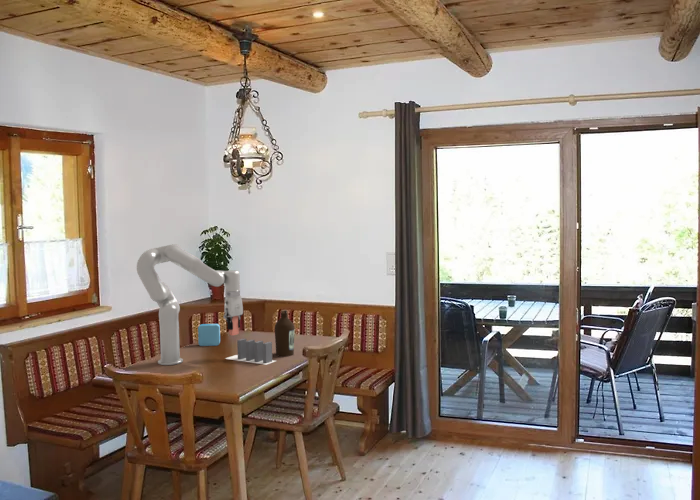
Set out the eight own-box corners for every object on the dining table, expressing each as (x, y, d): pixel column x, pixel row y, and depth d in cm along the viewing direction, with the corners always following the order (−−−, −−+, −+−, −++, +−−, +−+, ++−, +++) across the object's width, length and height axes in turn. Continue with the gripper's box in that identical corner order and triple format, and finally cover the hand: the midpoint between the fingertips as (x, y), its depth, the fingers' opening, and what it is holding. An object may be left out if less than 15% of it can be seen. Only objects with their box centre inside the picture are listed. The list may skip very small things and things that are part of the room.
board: (224, 360, 340) (224, 358, 340) (235, 357, 348) (235, 354, 348) (266, 367, 327) (266, 364, 327) (276, 363, 335) (276, 360, 334)
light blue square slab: (220, 343, 380) (219, 323, 379) (219, 345, 376) (219, 325, 375) (199, 344, 379) (198, 324, 378) (198, 346, 375) (197, 325, 374)
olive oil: (272, 358, 344) (271, 311, 342) (279, 353, 355) (278, 308, 353) (291, 359, 342) (290, 312, 340) (297, 354, 352) (296, 309, 350)
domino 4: (263, 362, 330) (262, 343, 329) (269, 360, 334) (268, 341, 334) (266, 363, 329) (265, 344, 328) (272, 361, 333) (271, 342, 333)
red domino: (229, 335, 340) (229, 316, 339) (235, 333, 344) (235, 314, 344) (232, 335, 339) (231, 316, 338) (238, 333, 343) (238, 315, 343)
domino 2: (246, 360, 336) (245, 341, 335) (252, 358, 340) (251, 339, 339) (249, 360, 335) (248, 341, 334) (255, 358, 339) (254, 339, 338)
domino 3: (254, 361, 333) (254, 342, 332) (260, 359, 337) (260, 340, 336) (257, 362, 332) (257, 342, 331) (263, 360, 336) (263, 340, 335)
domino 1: (237, 359, 338) (237, 340, 337) (243, 357, 343) (243, 338, 342) (240, 359, 337) (240, 340, 336) (246, 357, 342) (246, 338, 341)
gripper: (227, 296, 331) (228, 332, 332) (248, 292, 346) (249, 326, 347) (216, 296, 335) (217, 330, 336) (237, 291, 349) (238, 325, 351)
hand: (233, 328), depth 341 cm, fingers closed on red domino, 4 cm apart
